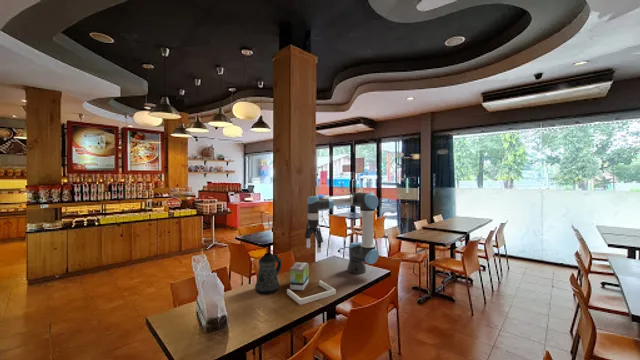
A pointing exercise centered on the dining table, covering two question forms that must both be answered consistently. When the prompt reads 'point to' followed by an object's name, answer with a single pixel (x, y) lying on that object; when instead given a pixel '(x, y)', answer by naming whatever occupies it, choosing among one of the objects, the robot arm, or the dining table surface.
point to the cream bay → (314, 297)
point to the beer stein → (268, 274)
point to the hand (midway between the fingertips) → (313, 250)
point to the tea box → (299, 276)
